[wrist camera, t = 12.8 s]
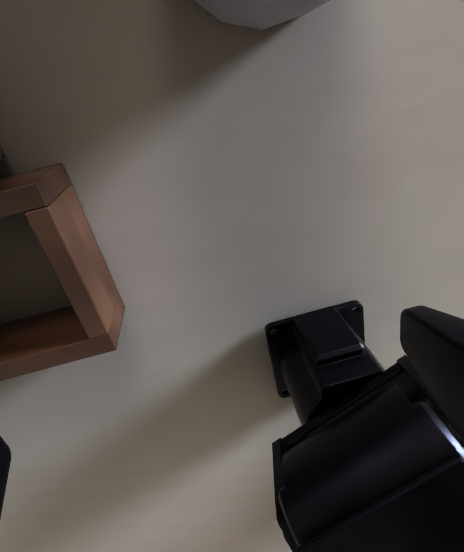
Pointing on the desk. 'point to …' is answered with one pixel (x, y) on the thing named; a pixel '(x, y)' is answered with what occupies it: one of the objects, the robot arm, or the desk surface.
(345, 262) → the desk surface
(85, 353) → the rack
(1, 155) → the dark grey open box
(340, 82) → the desk surface
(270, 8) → the cup
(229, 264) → the desk surface
